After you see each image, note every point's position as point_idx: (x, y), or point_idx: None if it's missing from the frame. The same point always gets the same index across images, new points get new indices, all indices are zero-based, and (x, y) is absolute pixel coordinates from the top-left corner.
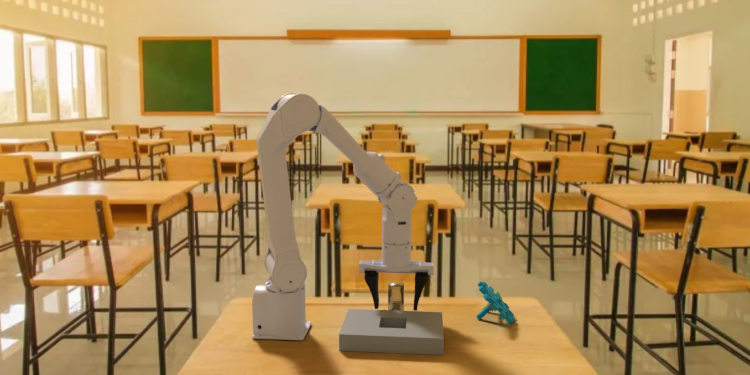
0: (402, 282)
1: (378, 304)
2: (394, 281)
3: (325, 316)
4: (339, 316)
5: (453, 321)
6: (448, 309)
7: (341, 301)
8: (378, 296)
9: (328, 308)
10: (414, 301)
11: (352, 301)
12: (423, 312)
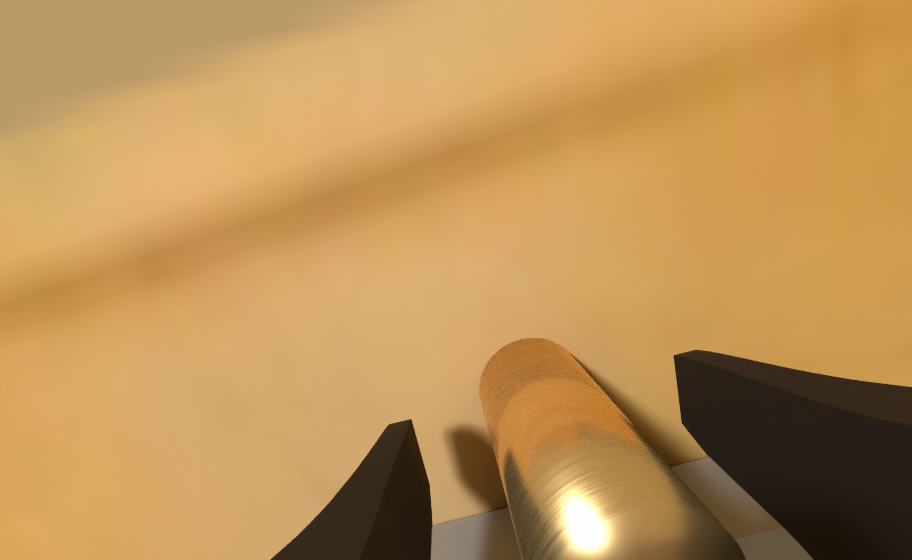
0: (718, 529)
1: (420, 468)
2: (604, 530)
3: (95, 517)
4: (181, 487)
5: (878, 327)
6: (852, 131)
7: (37, 230)
8: (405, 471)
9: (30, 392)
10: (742, 483)
11: (120, 201)
12: (788, 540)
